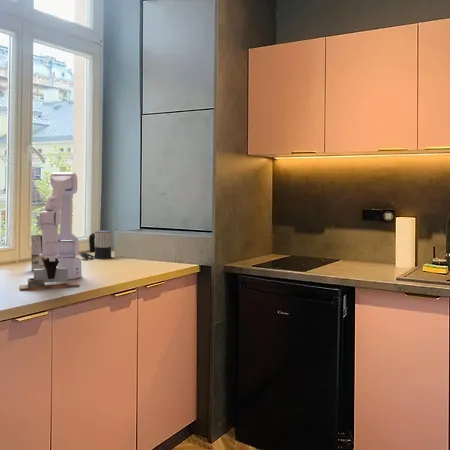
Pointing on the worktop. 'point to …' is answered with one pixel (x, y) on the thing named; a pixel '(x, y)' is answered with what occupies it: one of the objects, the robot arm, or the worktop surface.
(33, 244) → the coffee box
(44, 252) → the robot arm
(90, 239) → the milk frother
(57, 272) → the rail
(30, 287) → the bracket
